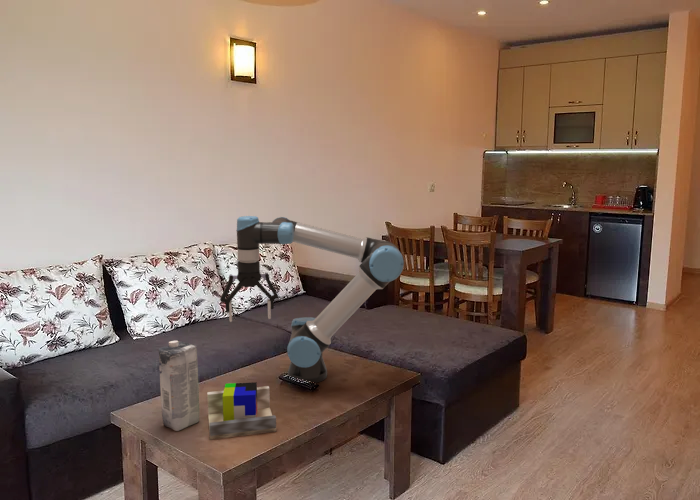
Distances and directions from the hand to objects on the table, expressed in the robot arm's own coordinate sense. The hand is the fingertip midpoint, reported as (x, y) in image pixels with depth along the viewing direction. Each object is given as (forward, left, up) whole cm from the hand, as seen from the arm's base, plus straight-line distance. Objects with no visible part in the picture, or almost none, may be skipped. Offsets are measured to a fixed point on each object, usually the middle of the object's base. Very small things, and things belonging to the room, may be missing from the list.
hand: (250, 319), depth 208 cm
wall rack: (+6, +25, -27) cm, 37 cm away
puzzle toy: (+6, +24, -26) cm, 36 cm away
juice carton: (+24, +21, -27) cm, 42 cm away
